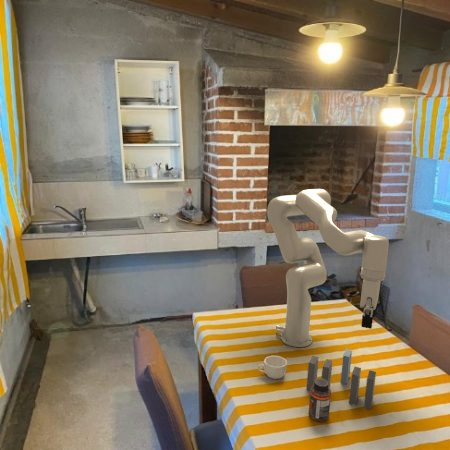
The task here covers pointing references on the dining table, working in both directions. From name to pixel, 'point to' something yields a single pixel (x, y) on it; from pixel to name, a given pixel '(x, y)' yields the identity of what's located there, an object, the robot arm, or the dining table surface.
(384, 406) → the dining table surface
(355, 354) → the dining table surface
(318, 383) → the supplement bottle
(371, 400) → the domino
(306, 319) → the robot arm
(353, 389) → the domino
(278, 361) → the teacup
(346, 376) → the domino
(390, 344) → the dining table surface
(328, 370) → the domino
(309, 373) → the domino
